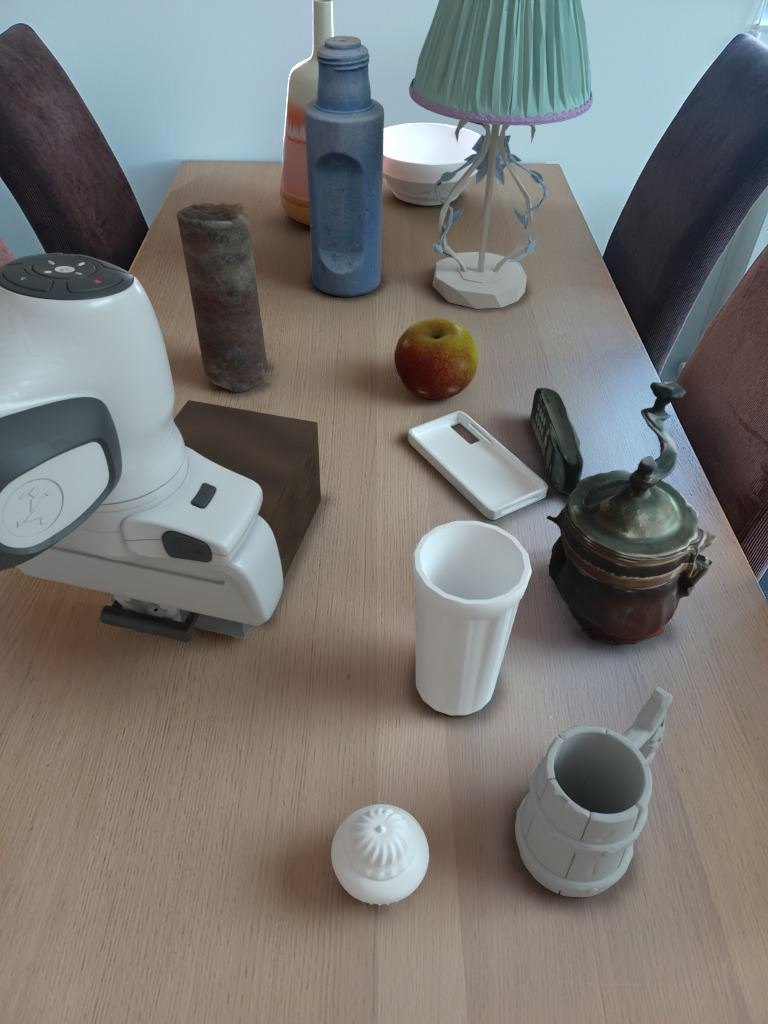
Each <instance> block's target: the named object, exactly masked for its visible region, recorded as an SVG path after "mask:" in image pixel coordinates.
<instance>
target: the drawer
mask: <svg viewBox="0 0 768 1024" xmlns="http://www.w3.org/2000/svg"><path fill="white" fill-rule="evenodd" d="M111 596H112V599H113V602H112V603H111V604H110V605H108V604H106V605H104V606H103V607H102V609H101V611H100V614H99V621H100V623H101V625H102V624H104V625H107V626H111V627H116V628H120V629H124V630H129V631H133V632H138V633H143V634H147V635H150V636H155V637H160V638H163V639H164V638H165V639H167V640H168V639H169V640H173V641H178V642H182V643H186V644H188V643H190V642H191V641H192V639H193V637H194V634H195V629H199V630H204V631H208V632H212V633H217V634H221V635H227V636H231V637H236V638H239V639H243V640H244V639H246V636H247V634H248V632H249V630H250V628H251V627H250V626H251V625H249V624H245V623H241V622H236V621H232V620H227V619H222V618H218V617H213V616H209V615H204V614H200V613H195V612H191V611H186V610H182V609H179V611H180V615H181V620H180V621H175V620H171V619H167V618H162V617H158V616H153V615H149V614H144V613H140V612H135V611H131V610H127V609H125V608H124V607H123V606H122V605H121V604H120V603H119V602H118V601H117V600H116V599H115V598H114V595H113V594H111Z"/></svg>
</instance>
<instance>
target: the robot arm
mask: <svg viewBox="0 0 768 1024" xmlns="http://www.w3.org/2000/svg"><path fill="white" fill-rule="evenodd" d="M163 336H164V335H163V334H162V330H161V326H160V323H159V320H158V317H157V314H156V312H155V309H154V307H153V304H152V302H151V300H150V298H149V295H148V293H147V292H146V290H145V288H144V287H143V285H142V284H141V282H140V281H139V279H138V278H137V277H136V276H135V275H133V274H131V273H130V272H129V271H127V270H126V269H123V268H122V267H120V266H118V265H115V264H112V263H110V262H108V261H106V260H103V259H99V258H96V257H93V256H88V255H85V254H81V253H77V254H75V253H62V252H48V253H47V252H46V253H45V252H44V253H37V254H30V255H25V256H22V257H18V258H16V259H14V260H12V261H9V262H7V263H5V264H2V265H1V266H0V572H3V571H5V570H10V569H12V568H16V569H18V570H19V571H20V573H23V574H24V575H25V576H28V577H32V578H37V579H42V580H46V581H51V582H54V583H60V584H64V585H68V586H73V587H77V588H82V589H87V590H91V591H96V592H100V593H104V594H108V595H109V594H110V595H112V594H113V595H114V598H115V599H116V600H117V601H118V602H119V603H120V604H121V605H122V606H123V607H124V608H125V609H127V610H131V611H135V612H140V613H144V614H149V615H153V616H158V617H162V618H167V619H171V620H175V621H180V620H181V615H180V611H179V609H182V610H186V611H191V612H195V613H200V614H204V615H209V616H213V617H218V618H222V619H227V620H232V621H236V622H241V623H245V624H249V626H254V627H258V626H259V627H260V626H262V625H263V624H265V623H266V622H267V621H269V620H270V619H271V617H272V616H273V614H274V612H275V610H276V608H277V606H278V604H279V602H280V599H281V597H282V594H283V590H284V581H283V573H282V566H281V561H280V556H279V551H278V547H277V543H276V540H275V537H274V534H273V532H272V530H271V528H270V526H269V525H268V524H267V522H266V521H265V520H264V519H263V518H262V517H260V516H259V515H258V513H259V510H260V507H261V504H262V501H263V493H262V489H261V487H260V486H259V485H258V484H257V483H256V482H254V481H253V480H251V479H248V478H246V477H244V476H242V475H239V474H237V473H235V472H233V471H230V470H228V469H226V468H224V467H222V466H220V465H218V464H216V463H214V462H212V461H210V460H208V459H207V458H205V457H203V456H201V455H200V454H198V453H197V452H195V451H194V450H192V449H190V448H188V447H186V446H185V444H184V440H183V438H182V435H181V433H180V431H179V429H178V428H177V426H176V425H175V423H174V416H173V415H174V409H175V399H176V398H175V397H176V394H175V387H174V380H173V376H172V375H173V374H172V371H171V366H170V362H169V357H168V352H167V348H166V345H165V341H164V337H163Z"/></svg>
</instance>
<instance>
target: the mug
mask: <svg viewBox="0 0 768 1024" xmlns="http://www.w3.org/2000/svg"><path fill="white" fill-rule="evenodd" d="M672 702H673V695H672V694H671V693H669V692H668V691H666V690H665V689H663V688H662V687H661V686H656V687H654V689H653V691H652V693H651V694H650V697H649V699H648V700H647V701H646V703H644V705H642V707H641V708H640V710H639V712H638V713H637V716H636V718H635V719H634V721H633V722H632V724H631V726H629V727H628V728H627V729H626V730H625V731H624V732H622V733H619V732H617V731H615V730H613V729H608V728H606V727H604V726H599V725H577V726H574V727H569V728H568V729H567V728H566V729H565V730H562V732H560V733H559V734H558V735H556V737H554V739H553V740H552V742H550V745H549V746H548V748H547V751H546V753H545V755H544V756H543V757H542V758H541V759H540V761H539V762H538V764H537V765H536V767H535V768H534V771H533V772H532V773H531V775H530V777H529V780H528V781H529V784H528V785H529V791H528V792H527V794H526V795H525V796H524V798H523V799H522V801H521V803H520V805H519V807H518V808H517V809H516V813H515V817H516V818H515V823H514V824H515V825H514V831H515V832H514V833H515V839H516V844H517V849H518V850H519V855H520V858H521V861H522V863H523V865H524V867H525V868H526V869H527V871H528V872H529V873H530V874H531V876H532V877H533V878H534V879H535V881H537V882H538V883H539V884H540V885H542V886H543V887H544V888H546V889H547V890H549V891H551V892H552V893H555V894H557V895H558V894H559V895H560V896H563V897H571V898H589V897H593V896H597V895H599V894H601V893H602V892H604V891H607V890H609V888H610V887H612V886H613V885H615V884H616V883H618V881H619V880H621V878H622V877H623V876H624V875H625V873H626V872H627V870H628V868H629V865H630V863H631V860H632V859H633V857H634V852H635V851H634V843H635V841H636V840H637V839H638V838H639V836H640V834H641V833H642V831H643V829H644V827H645V825H646V823H647V821H648V818H649V807H648V804H649V803H650V800H651V796H652V792H653V774H652V770H651V768H650V765H651V763H652V762H653V760H654V758H655V755H656V750H658V749H659V748H660V746H661V744H662V742H663V739H664V732H665V730H666V721H667V711H668V709H669V707H670V705H671V703H672Z"/></svg>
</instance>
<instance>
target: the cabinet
mask: <svg viewBox="0 0 768 1024" xmlns="http://www.w3.org/2000/svg"><path fill="white" fill-rule="evenodd" d="M173 420H174V423H175V425H176V426H177V428H178V429H179V431H180V433H181V435H182V438H183V440H184V444H185V446H186V447H188V448H190V449H192V450H194V451H195V452H197V453H198V454H200V455H201V456H203V457H205V458H207V459H208V460H210V461H212V462H214V463H216V464H218V465H220V466H222V467H224V468H226V469H228V470H230V471H233V472H235V473H237V474H239V475H242V476H244V477H246V478H248V479H251V480H253V481H254V482H256V483H257V484H258V485H259V486H260V487H261V489H262V493H263V501H262V504H261V507H260V510H259V513H258V515H259V516H260V517H262V518H263V519H264V520H265V521H266V522H267V524H268V525H269V526H270V528H271V530H272V532H273V534H274V537H275V540H276V543H277V547H278V551H279V556H280V561H281V566H282V573H283V582H284V581H285V578H286V576H287V574H288V572H289V570H290V568H291V566H292V563H293V562H294V559H295V557H296V555H297V553H298V551H299V549H300V546H301V545H302V542H303V540H304V538H305V536H306V534H307V532H308V529H309V527H310V525H311V523H312V520H313V519H314V516H315V514H316V512H317V510H318V508H319V506H320V503H321V501H322V491H321V489H322V488H321V470H320V469H321V467H320V447H319V446H320V444H319V425H318V423H319V422H317V421H312V420H311V421H310V420H307V419H301V418H295V417H288V416H284V415H279V414H272V413H266V412H261V411H260V412H259V411H255V410H249V409H243V408H237V407H232V406H226V405H219V404H216V403H215V404H214V403H208V402H202V401H198V400H191V399H187V401H186V402H185V404H184V405H183V407H182V408H181V409H180V410H179V412H178V413H177V414H176V415H175V417H173Z"/></svg>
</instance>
